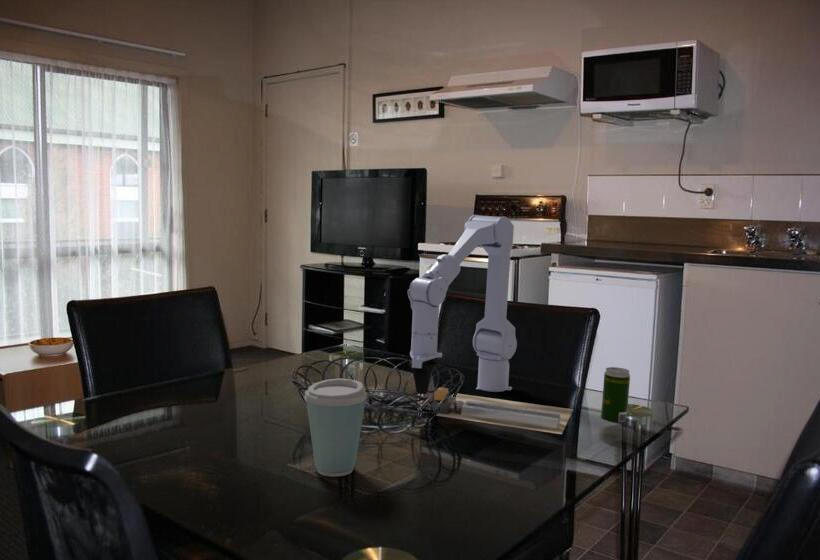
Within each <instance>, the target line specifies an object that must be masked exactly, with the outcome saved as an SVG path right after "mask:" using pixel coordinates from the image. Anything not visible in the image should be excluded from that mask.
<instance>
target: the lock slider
mask: <svg viewBox="0 0 820 560" xmlns="http://www.w3.org/2000/svg"><path fill="white" fill-rule="evenodd" d="M447 393H448V394H449V388H447V387H438V388H437V389H436V390H435V391H434V394H433V397H434V398H433V401H434V400H440V401H441V400H442V399H443V398H444V397H445V396H446V394H447ZM448 396H449V395H448ZM448 396H447V397H448ZM447 397H446V398H447ZM446 398H445V399H446ZM445 399H444V400H445Z"/></svg>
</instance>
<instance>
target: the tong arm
mask: <svg viewBox="0 0 820 560" xmlns="http://www.w3.org/2000/svg"><path fill="white" fill-rule="evenodd" d="M463 405H468V406H475V407H482V408H489V409H496V410H503V411H510V412H517V413H524V414H531V415H538V416H545V417H552V418H559V419H558V424H559V423H560V416H561V413H558V412H551V411H543V410H535V409H528V408H520V407H513V406H505V405H498V404H490V403H483V402H475V401H468V400H467V401H466V402H463V401H455V402H454V412H457V413H461V408H462V406H463Z"/></svg>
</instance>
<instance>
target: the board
mask: <svg viewBox="0 0 820 560" xmlns="http://www.w3.org/2000/svg"><path fill="white" fill-rule="evenodd" d="M453 395H454V393H453V394H451V395H449V396H450V397H453ZM467 400H468V401H475V402H483V403H490V404H498V405H505V406H513V407H520V408H528V409H535V410H543V411H551V412H558V413H561V416H560V423H559V424H558V429H557V430H553V429H547V428H540V427H533V426H526V425H520V424H513V423H506V422H499V421H492V420H486V419H479V418H472V417H465V416H461V413H457V412H454V410H453V411H452V412H451V413H450V414H449V415H447V414H440V413H438V414H437V415H436V416H437V417H444V418H450V419H456V420H464V421H471V422H477V423H484V424H490V425H495V426H503V427H511V428H517V429H523V430H530V431H536V432H543V433H549V434H550V433H551V434H557V435H563V433H564V430H565V429H566V426H567V424H568V422H569V420H570V418H571V416H572V413H573V411H574V409H572V408H566V407H559V406H551V405H541V404H535V403H528V402H523V401H522V402H521V401H513V400H507V399H500V398H491V397H485V396H478V395H470V394H462V393H457V395H456V401H463V402H466V401H467Z"/></svg>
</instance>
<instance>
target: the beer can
mask: <svg viewBox="0 0 820 560" xmlns="http://www.w3.org/2000/svg"><path fill="white" fill-rule="evenodd" d="M630 382H631V374H630V370H629V369H627V368H622V367H618V366H617V367H615V366H614V367H613V366H610V367H606V368H605V371H604V375H603V388H602V399H601V411H600V412H601V415H600V418H601V419H602V420H605V421H608V422H611V423H625V422H627V418H628V408H629V395H630Z"/></svg>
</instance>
